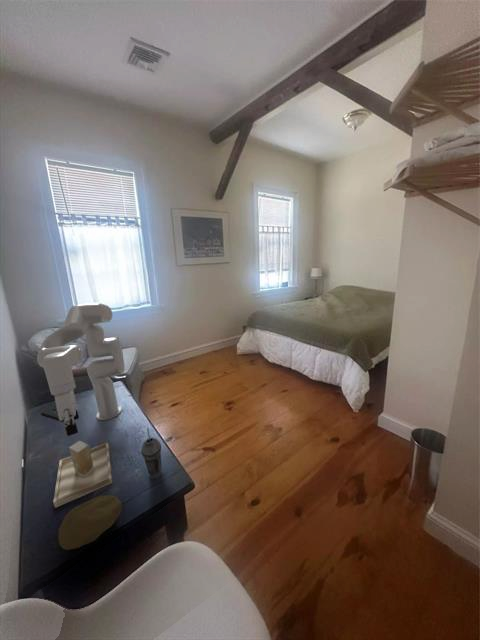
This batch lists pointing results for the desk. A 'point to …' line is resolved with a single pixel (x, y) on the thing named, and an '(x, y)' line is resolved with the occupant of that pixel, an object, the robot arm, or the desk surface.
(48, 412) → the smart home device
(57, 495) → the birch tray
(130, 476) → the desk surface
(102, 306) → the robot arm
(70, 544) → the decorative stone
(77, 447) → the skincare box
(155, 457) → the beverage cup
